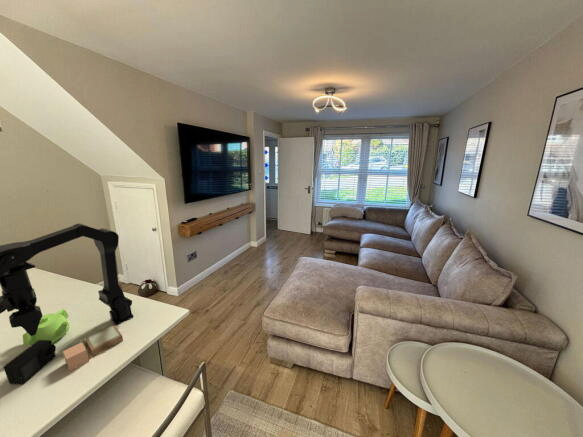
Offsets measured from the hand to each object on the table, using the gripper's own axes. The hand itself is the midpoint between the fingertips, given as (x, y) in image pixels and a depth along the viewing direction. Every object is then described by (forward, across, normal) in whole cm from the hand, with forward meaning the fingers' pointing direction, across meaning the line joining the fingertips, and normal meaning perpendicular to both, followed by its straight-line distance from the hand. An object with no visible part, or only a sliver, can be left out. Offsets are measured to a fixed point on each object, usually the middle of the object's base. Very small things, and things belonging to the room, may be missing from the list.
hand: (31, 328), depth 76 cm
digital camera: (+14, +3, -2) cm, 14 cm away
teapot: (+14, -11, +3) cm, 18 cm away
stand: (+14, +6, +16) cm, 22 cm away
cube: (+14, +9, +7) cm, 18 cm away
